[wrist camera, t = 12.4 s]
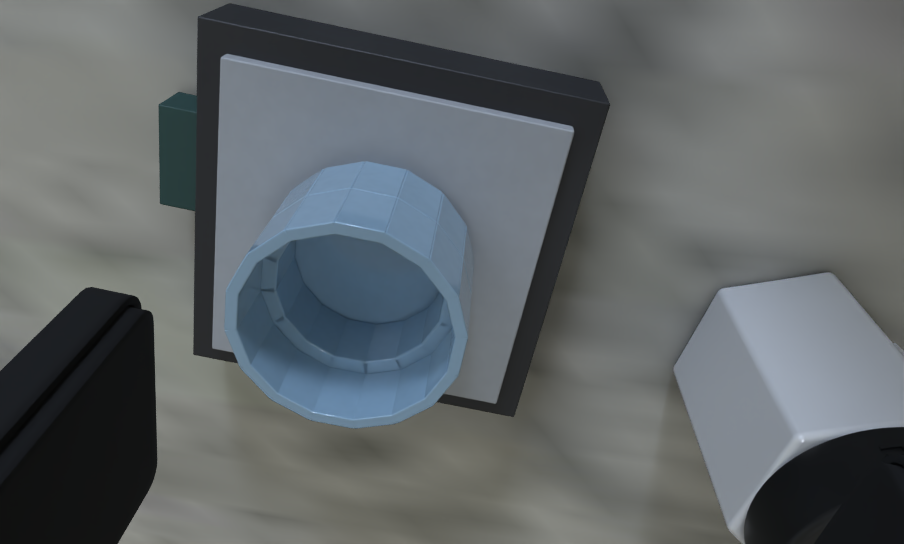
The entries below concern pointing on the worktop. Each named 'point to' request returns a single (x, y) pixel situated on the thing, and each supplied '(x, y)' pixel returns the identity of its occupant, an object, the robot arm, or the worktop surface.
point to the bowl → (355, 297)
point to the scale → (383, 163)
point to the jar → (790, 403)
